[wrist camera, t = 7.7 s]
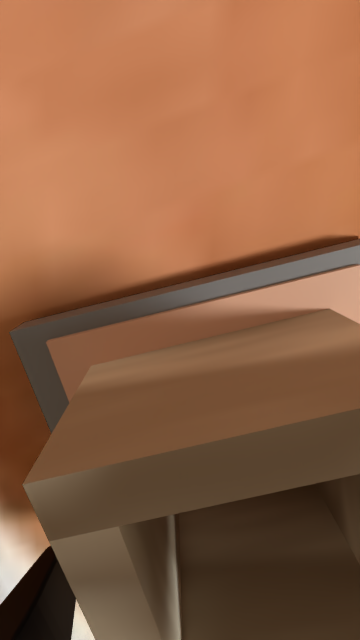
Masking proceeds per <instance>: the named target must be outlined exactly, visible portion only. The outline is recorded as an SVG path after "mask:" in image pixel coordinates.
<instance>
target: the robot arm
mask: <svg viewBox="0 0 360 640" xmlns="http://www.w3.org/2000/svg"><path fill="white" fill-rule="evenodd" d="M75 602H76V597H75V595H74V593H73V591H72V589H71V587H70V585H69V583H68V580H67V578H66V576H65V574H64V572H63V570H62V568H61V566H60V564H59V561H58V559H57V557H56V555H55V553H54V551H53V549H52V547H51V546H49V547H48V548H47V549H46V550H45V551H44V552H43V553H42V554H41V556H40V557H39V558H38V559H37V561H36V562H35V563H34V564H33V565H32V567H31V568H30V569H29V570H28V572H27V573H26V574H25V575H24V576H23V578H22V579H21V580H20V581H19V583H18V584H17V585H16V586H15V587H14V589H13V590H12V591H11V592H10V594H9V595H8V596H7V597H6V598H5V600H4V601H3V602H2V603H1V605H0V640H71V635H72V627H73V619H74V611H75Z"/></svg>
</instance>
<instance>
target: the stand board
mask: <svg viewBox="0 0 360 640" xmlns="http://www.w3.org/2000/svg"><path fill="white" fill-rule="evenodd" d="M329 308H330V309H332V310H334V311H335V312H337V313H339V314H341V315H343V316H345V317H347V318H349V319H351V320H353V321H355V322H357V323H359V324H360V239H357V240H353V241H349V242H345V243H341V244H337V245H333V246H329V247H325V248H321V249H317V250H313V251H309V252H305V253H301V254H297V255H293V256H289V257H284V258H280V259H276V260H272V261H268V262H264V263H260V264H256V265H252V266H248V267H244V268H240V269H236V270H232V271H228V272H224V273H220V274H216V275H212V276H208V277H204V278H200V279H196V280H192V281H188V282H184V283H180V284H176V285H172V286H168V287H164V288H160V289H156V290H152V291H148V292H144V293H140V294H136V295H132V296H128V297H124V298H120V299H116V300H111V301H107V302H103V303H99V304H95V305H91V306H87V307H83V308H79V309H75V310H71V311H67V312H63V313H59V314H55V315H51V316H47V317H43V318H39V319H35V320H31V321H27V322H24V323H22V324H21V325H19V326H18V327H16V328H15V329H13V330H12V331H10V332H9V333H10V335H11V338H12V340H13V343H14V345H15V347H16V350H17V352H18V355H19V357H20V359H21V362H22V364H23V366H24V369H25V371H26V374H27V376H28V378H29V381H30V383H31V386H32V388H33V390H34V393H35V395H36V398H37V400H38V402H39V405H40V407H41V410H42V412H43V414H44V417H45V419H46V422H47V424H48V426H49V429H50V431H51V434H52V432H53V431H54V429H55V427H56V425H57V424H58V422H59V420H60V418H61V417H62V415H63V413H64V412H65V410H66V408H67V406H68V405H69V403H70V401H71V399H72V398H73V396H74V394H75V393H76V391H77V389H78V387H79V386H80V384H81V382H82V380H83V379H84V377H85V375H86V374H87V372H88V370H89V368H90V367H91V366H92V365H96V364H100V363H105V362H109V361H113V360H117V359H121V358H125V357H130V356H134V355H138V354H142V353H146V352H150V351H155V350H159V349H163V348H167V347H171V346H175V345H179V344H184V343H188V342H192V341H196V340H200V339H204V338H209V337H213V336H217V335H221V334H225V333H229V332H234V331H238V330H242V329H246V328H250V327H254V326H259V325H263V324H267V323H271V322H275V321H279V320H283V319H288V318H292V317H296V316H300V315H304V314H308V313H313V312H317V311H321V310H325V309H329Z"/></svg>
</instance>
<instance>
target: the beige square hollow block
mask: <svg viewBox="0 0 360 640" xmlns="http://www.w3.org/2000/svg"><path fill="white" fill-rule="evenodd" d="M22 485H23V487H24V489H25V492H26V494H27V496H28V498H29V500H30V502H31V504H32V506H33V508H34V511H35V513H36V515H37V517H38V519H39V521H40V523H41V525H42V528H43V530H44V532H45V534H46V536H47V538H48V540H49V542H50V544H51V547H52V549H53V551H54V553H55V555H56V557H57V559H58V561H59V564H60V566H61V568H62V570H63V572H64V574H65V576H66V578H67V580H68V583H69V585H70V587H71V589H72V591H73V593H74V595H75V597H76V600H77V602H78V604H79V606H80V608H81V610H82V612H83V614H84V616H85V619H86V621H87V623H88V625H89V627H90V629H91V631H92V633H93V635H94V638H95V640H360V324H359V323H357V322H355V321H353V320H351V319H349V318H347V317H345V316H343V315H341V314H339V313H337V312H335V311H334V310H332V309H330V308H329V309H325V310H321V311H317V312H313V313H308V314H304V315H300V316H296V317H292V318H288V319H283V320H279V321H275V322H271V323H267V324H263V325H259V326H254V327H250V328H246V329H242V330H238V331H234V332H229V333H225V334H221V335H217V336H213V337H209V338H204V339H200V340H196V341H192V342H188V343H184V344H179V345H175V346H171V347H167V348H163V349H159V350H155V351H150V352H146V353H142V354H138V355H134V356H130V357H125V358H121V359H117V360H113V361H109V362H105V363H100V364H96V365H92V366H91V367H90V368H89V370H88V372H87V374H86V375H85V377H84V379H83V380H82V382H81V384H80V386H79V387H78V389H77V391H76V393H75V394H74V396H73V398H72V399H71V401H70V403H69V405H68V406H67V408H66V410H65V412H64V413H63V415H62V417H61V418H60V420H59V422H58V424H57V425H56V427H55V429H54V431H53V432H52V434H51V436H50V437H49V439H48V441H47V443H46V444H45V446H44V448H43V450H42V451H41V453H40V455H39V456H38V458H37V460H36V462H35V463H34V465H33V467H32V469H31V470H30V472H29V474H28V475H27V477H26V479H25V481H24V482H23V484H22Z"/></svg>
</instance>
